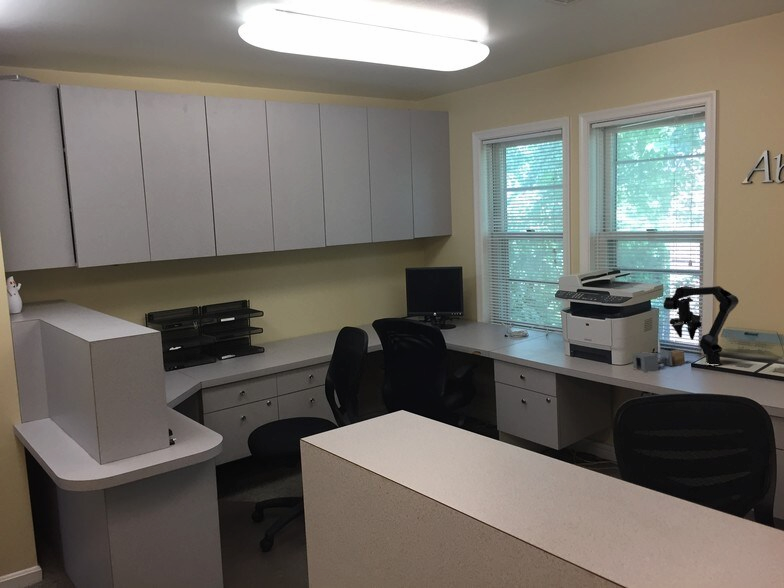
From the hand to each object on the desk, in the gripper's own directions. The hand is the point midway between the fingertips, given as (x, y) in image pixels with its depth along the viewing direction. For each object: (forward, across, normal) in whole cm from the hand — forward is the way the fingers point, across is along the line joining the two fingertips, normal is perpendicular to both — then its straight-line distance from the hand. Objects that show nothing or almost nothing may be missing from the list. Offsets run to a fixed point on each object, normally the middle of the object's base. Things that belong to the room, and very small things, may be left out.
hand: (686, 338), depth 345 cm
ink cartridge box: (+13, +32, 0) cm, 34 cm away
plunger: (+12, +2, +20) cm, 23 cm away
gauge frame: (+13, +1, +21) cm, 25 cm away
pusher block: (+13, 0, +7) cm, 15 cm away
